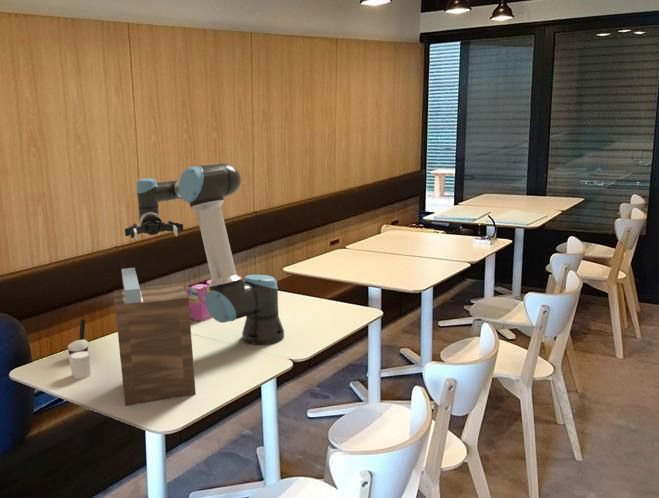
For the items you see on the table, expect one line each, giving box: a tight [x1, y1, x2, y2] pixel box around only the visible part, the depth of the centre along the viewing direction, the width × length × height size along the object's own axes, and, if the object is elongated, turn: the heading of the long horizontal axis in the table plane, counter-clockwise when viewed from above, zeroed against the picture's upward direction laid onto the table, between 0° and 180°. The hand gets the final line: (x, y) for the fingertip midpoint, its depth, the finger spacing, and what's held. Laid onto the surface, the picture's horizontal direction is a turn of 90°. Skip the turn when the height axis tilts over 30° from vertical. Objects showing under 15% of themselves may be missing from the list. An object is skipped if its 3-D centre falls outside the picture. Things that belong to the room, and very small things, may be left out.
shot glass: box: [68, 350, 93, 380], centre depth 209 cm, size 7×7×7 cm
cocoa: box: [67, 319, 89, 355], centre depth 223 cm, size 10×6×12 cm, turn 148°
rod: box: [121, 267, 141, 304], centre depth 194 cm, size 25×4×4 cm, turn 19°
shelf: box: [113, 283, 197, 407], centre depth 195 cm, size 16×20×30 cm
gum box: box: [185, 277, 213, 322], centre depth 267 cm, size 24×8×14 cm, turn 145°
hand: (156, 234), depth 227 cm, fingers open, 13 cm apart
